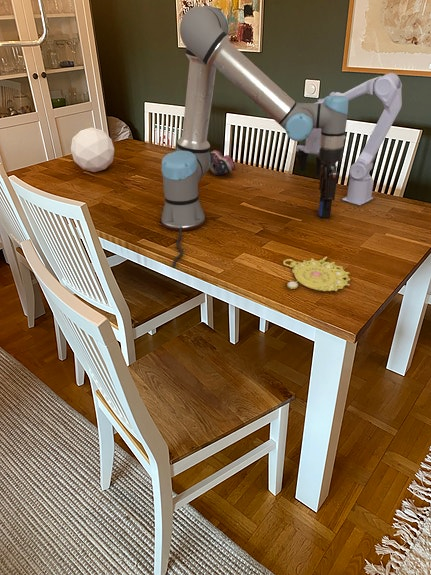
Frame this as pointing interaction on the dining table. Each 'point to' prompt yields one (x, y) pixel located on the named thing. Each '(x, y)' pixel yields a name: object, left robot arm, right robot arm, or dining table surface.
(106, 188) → the dining table surface
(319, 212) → the canister
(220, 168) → the athletic shoe
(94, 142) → the sphere
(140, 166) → the dining table surface
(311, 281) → the decorative object
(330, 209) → the left robot arm
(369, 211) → the dining table surface
